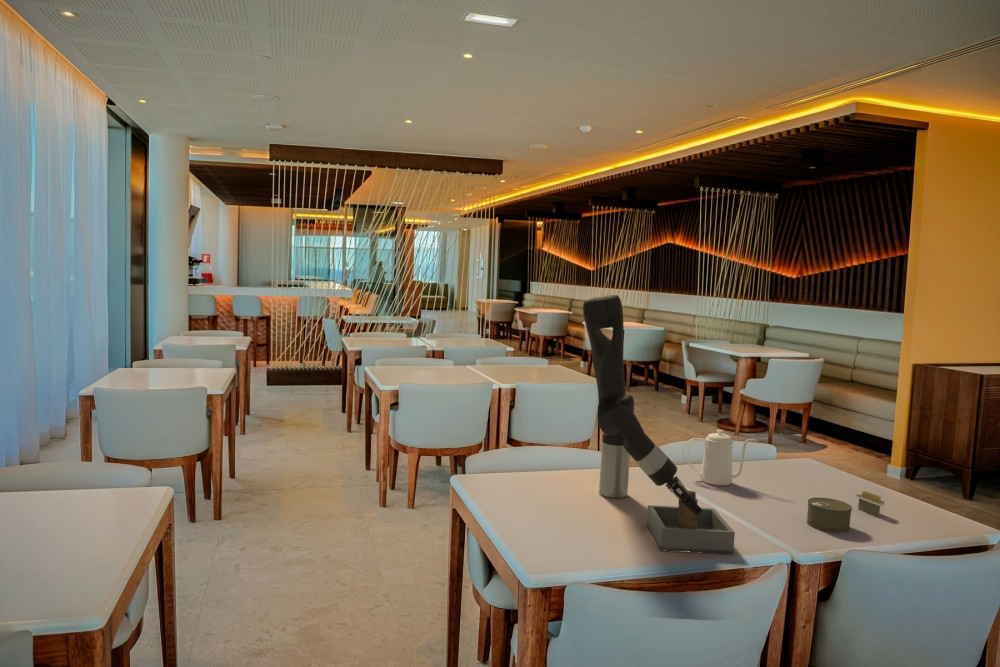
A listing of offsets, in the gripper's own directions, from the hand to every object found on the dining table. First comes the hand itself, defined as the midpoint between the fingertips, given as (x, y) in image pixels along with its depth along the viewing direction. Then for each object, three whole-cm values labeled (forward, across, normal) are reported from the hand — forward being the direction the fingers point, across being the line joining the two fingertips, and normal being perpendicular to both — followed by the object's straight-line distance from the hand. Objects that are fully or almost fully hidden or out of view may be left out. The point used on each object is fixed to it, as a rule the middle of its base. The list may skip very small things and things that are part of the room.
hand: (696, 508), depth 198 cm
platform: (+52, +31, -39) cm, 72 cm away
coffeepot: (+23, +58, -10) cm, 63 cm away
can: (+38, +17, -25) cm, 48 cm away
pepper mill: (+4, 0, +7) cm, 8 cm away
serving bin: (+5, 0, +7) cm, 9 cm away
